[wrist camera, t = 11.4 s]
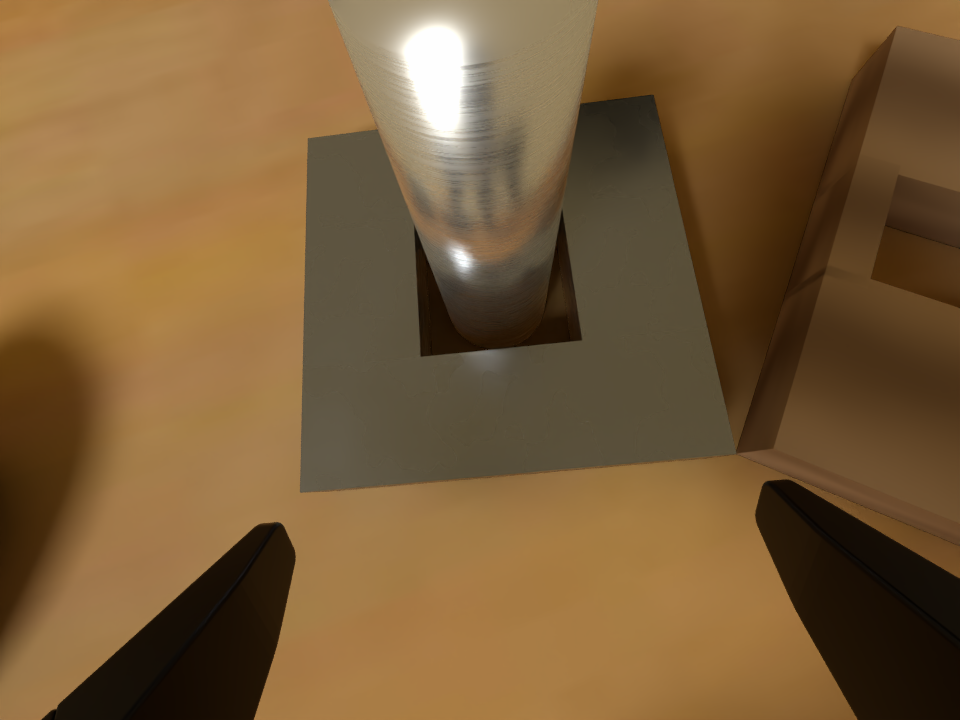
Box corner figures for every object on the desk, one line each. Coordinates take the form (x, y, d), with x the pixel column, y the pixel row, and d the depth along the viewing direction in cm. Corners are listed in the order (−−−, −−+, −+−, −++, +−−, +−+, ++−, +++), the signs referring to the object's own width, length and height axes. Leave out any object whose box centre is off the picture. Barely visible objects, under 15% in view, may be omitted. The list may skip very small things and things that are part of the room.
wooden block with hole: (977, 552, 15) (1064, 565, 13) (735, 453, 17) (773, 448, 14) (1053, 131, 19) (1131, 80, 17) (852, 80, 20) (897, 25, 18)
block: (704, 458, 17) (736, 454, 14) (329, 491, 17) (300, 492, 15) (637, 140, 20) (653, 94, 18) (331, 178, 21) (308, 138, 19)
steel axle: (564, 313, 18) (670, -44, 6) (483, 368, 18) (413, 109, 6) (508, 242, 20) (498, -190, 7) (430, 292, 19) (272, -68, 7)
